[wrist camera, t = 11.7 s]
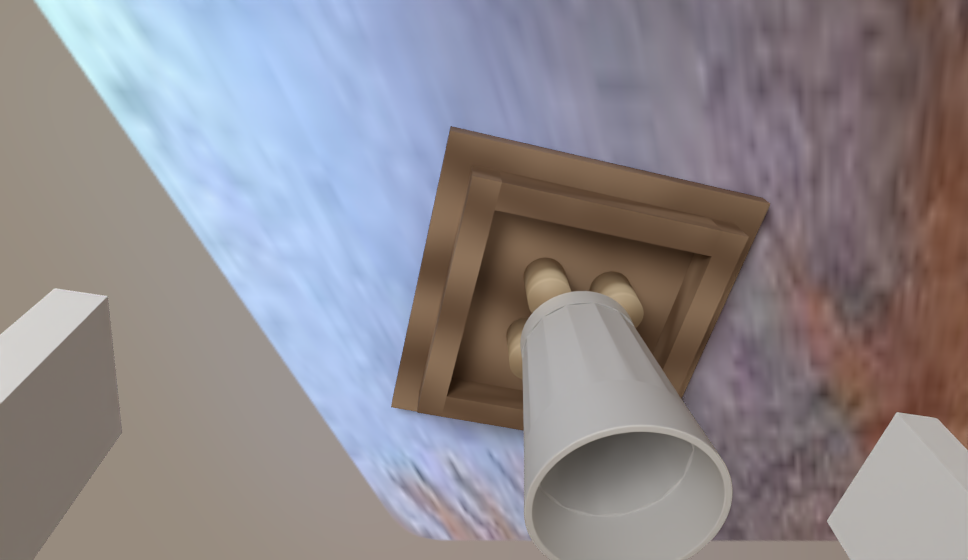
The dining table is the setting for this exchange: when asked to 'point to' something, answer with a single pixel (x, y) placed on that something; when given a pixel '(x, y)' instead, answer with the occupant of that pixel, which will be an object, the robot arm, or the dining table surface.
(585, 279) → the peg stand
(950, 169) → the dining table surface
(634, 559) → the cup
